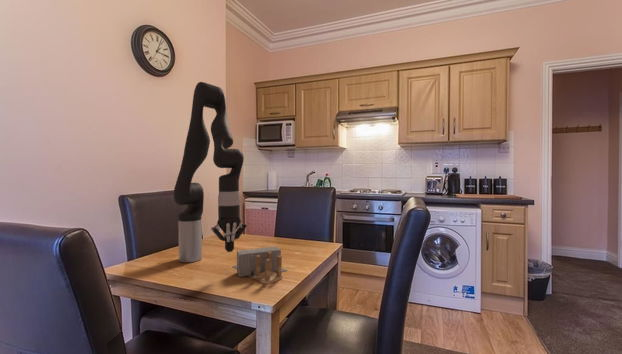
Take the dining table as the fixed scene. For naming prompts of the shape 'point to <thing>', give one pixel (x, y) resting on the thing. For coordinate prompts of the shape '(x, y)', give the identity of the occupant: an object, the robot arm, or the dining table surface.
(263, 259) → the skincare box
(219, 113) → the robot arm
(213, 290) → the dining table surface
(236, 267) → the mat
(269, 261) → the stool
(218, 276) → the dining table surface
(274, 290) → the dining table surface
